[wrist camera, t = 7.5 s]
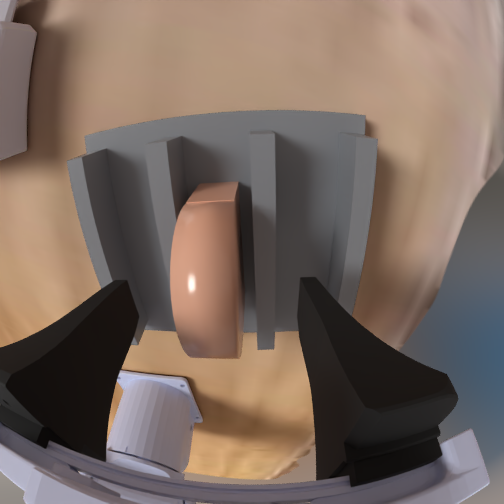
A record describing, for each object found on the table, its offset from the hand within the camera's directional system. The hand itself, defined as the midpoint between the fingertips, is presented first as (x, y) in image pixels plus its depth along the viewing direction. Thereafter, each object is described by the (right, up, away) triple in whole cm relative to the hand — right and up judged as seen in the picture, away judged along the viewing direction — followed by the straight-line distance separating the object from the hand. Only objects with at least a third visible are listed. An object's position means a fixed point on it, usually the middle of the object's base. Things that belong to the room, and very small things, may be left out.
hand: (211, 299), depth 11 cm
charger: (-17, +16, -1) cm, 24 cm away
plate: (0, +2, +4) cm, 5 cm away
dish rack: (0, +3, +5) cm, 6 cm away
